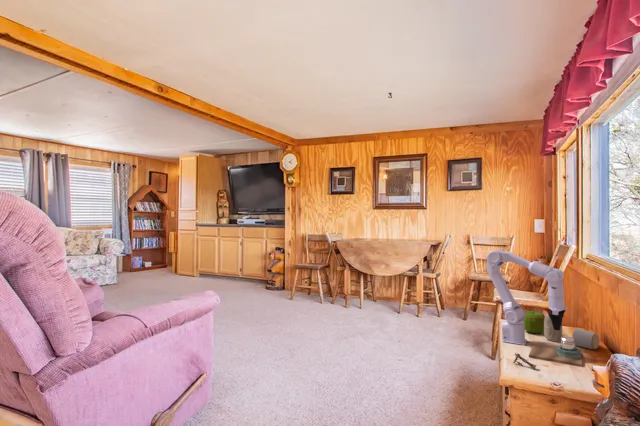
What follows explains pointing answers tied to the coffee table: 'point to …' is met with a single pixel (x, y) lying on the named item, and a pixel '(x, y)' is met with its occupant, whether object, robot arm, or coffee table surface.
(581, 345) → the grey cylinder
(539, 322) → the apple
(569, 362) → the board
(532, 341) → the coffee table surface
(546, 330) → the carving
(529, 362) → the wooden post with brackets
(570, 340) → the clear glass jar
